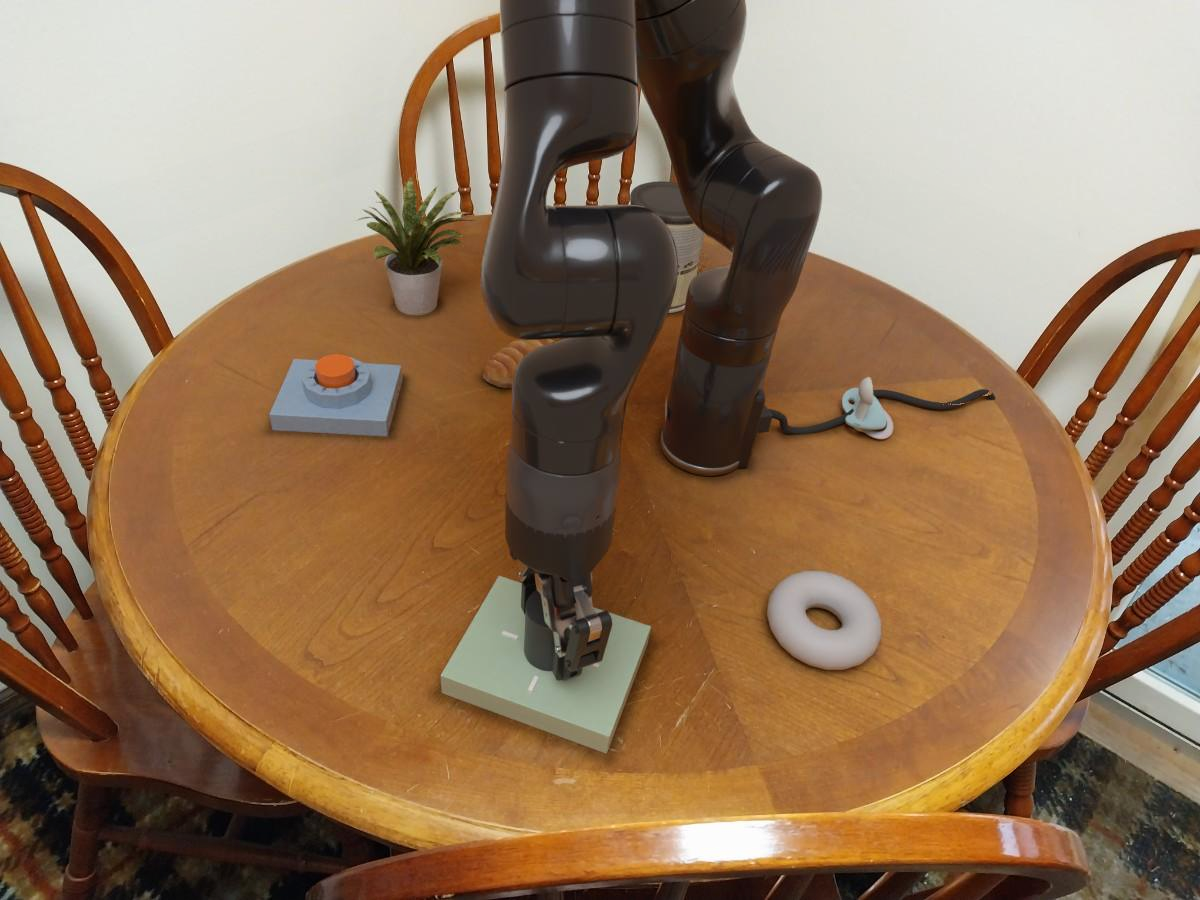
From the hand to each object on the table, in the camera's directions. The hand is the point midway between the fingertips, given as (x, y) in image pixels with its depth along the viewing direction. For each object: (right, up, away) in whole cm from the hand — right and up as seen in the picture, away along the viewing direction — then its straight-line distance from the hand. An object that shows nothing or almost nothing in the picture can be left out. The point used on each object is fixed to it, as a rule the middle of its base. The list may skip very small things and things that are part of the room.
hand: (550, 639), depth 68 cm
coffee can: (+12, +37, +49) cm, 63 cm away
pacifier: (+35, +18, +31) cm, 50 cm away
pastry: (-5, +24, +33) cm, 41 cm away
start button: (-24, +23, +23) cm, 41 cm away
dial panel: (0, -3, +3) cm, 4 cm away
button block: (-25, +20, +26) cm, 41 cm away
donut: (+24, -1, +8) cm, 25 cm away
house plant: (-20, +33, +41) cm, 56 cm away
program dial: (0, -1, +1) cm, 1 cm away
